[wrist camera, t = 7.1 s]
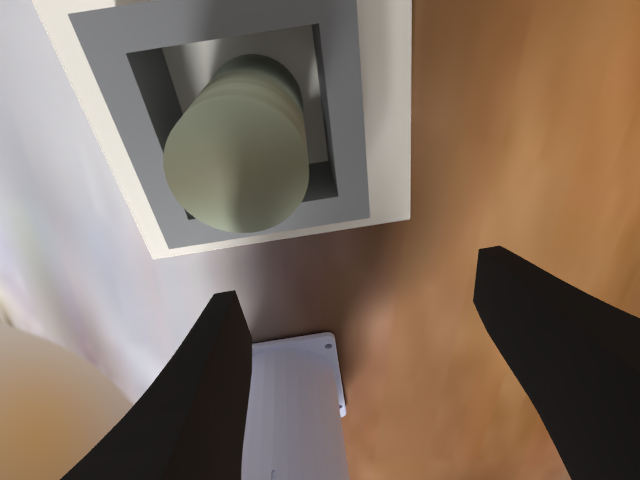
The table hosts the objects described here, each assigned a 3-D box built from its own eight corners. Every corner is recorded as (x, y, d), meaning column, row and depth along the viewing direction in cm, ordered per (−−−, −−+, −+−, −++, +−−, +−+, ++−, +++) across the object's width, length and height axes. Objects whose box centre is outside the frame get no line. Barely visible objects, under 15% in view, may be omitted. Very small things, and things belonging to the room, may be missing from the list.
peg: (308, 143, 17) (316, 224, 12) (222, 154, 17) (189, 240, 12) (295, 47, 15) (298, 90, 9) (197, 60, 15) (139, 110, 9)
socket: (407, 213, 21) (434, 261, 17) (156, 253, 21) (129, 308, 17) (407, -135, 13) (457, -185, 9) (6, -74, 13) (-102, -100, 9)
